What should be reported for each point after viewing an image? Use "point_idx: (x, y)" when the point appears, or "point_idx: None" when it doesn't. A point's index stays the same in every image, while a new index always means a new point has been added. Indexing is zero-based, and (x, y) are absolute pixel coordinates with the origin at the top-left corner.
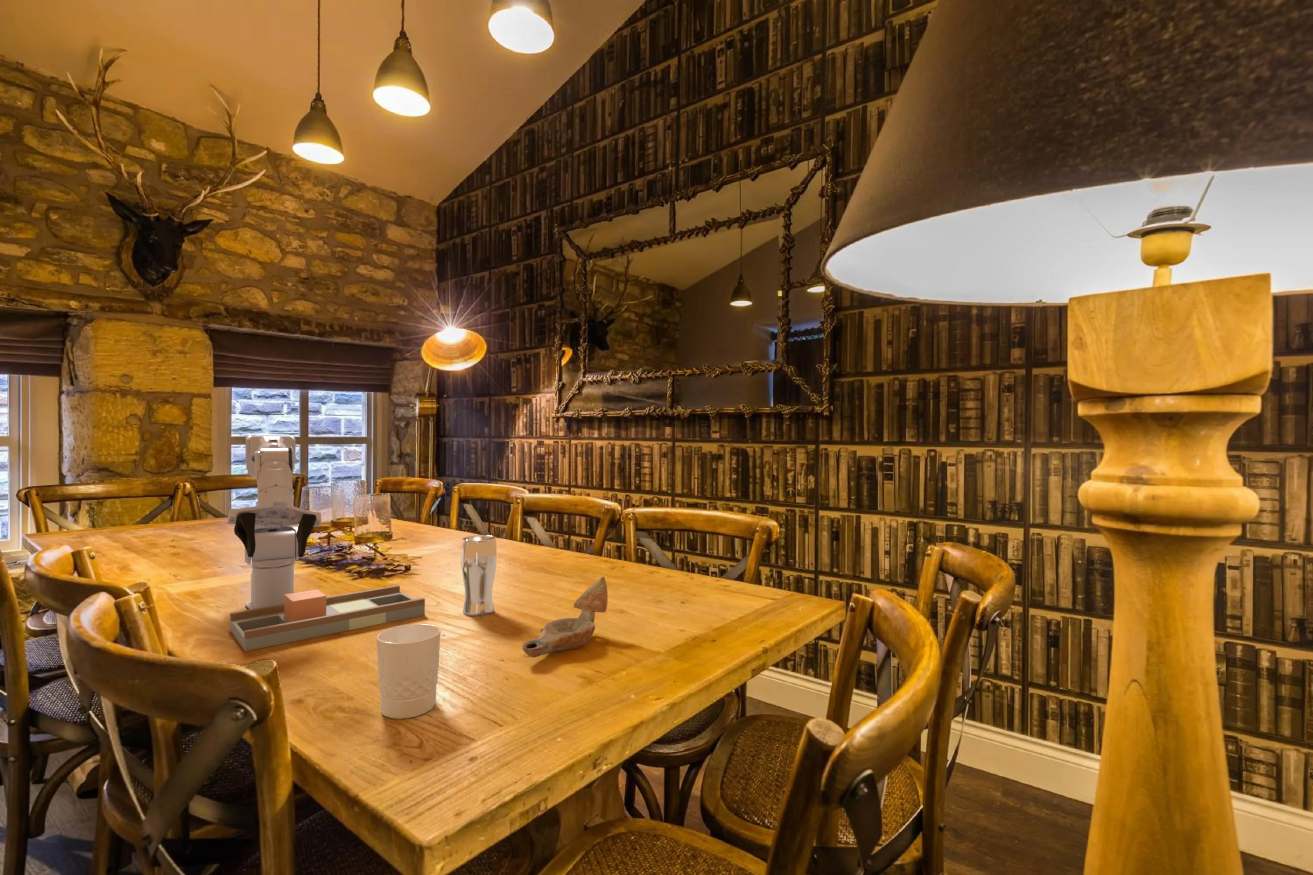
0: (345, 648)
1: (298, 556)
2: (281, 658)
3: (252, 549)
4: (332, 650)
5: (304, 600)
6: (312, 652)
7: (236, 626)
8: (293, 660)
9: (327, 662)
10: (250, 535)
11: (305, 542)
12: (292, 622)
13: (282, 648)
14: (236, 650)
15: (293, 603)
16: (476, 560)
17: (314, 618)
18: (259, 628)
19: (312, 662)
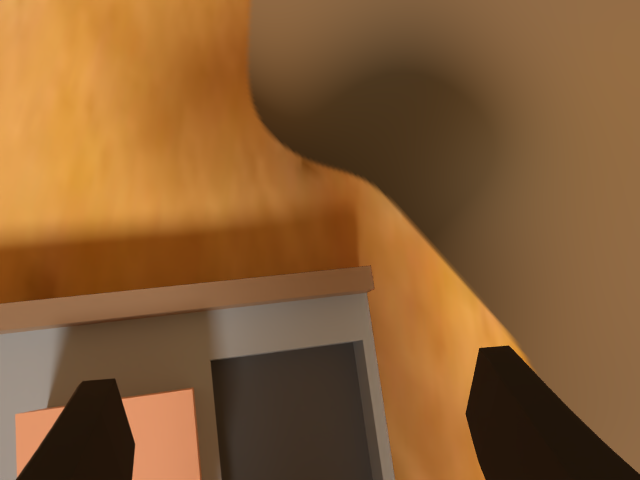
0: (61, 108)
1: (134, 448)
2: (258, 138)
3: (500, 348)
4: (104, 115)
5: (134, 397)
6: (165, 135)
7: (390, 475)
8: (229, 97)
9: (143, 17)
10: (589, 444)
11: (52, 437)
12: (205, 296)
13: (245, 238)
14: (376, 307)
15: (188, 389)
16: None
17: (115, 304)
18: (324, 285)
19: (182, 45)
